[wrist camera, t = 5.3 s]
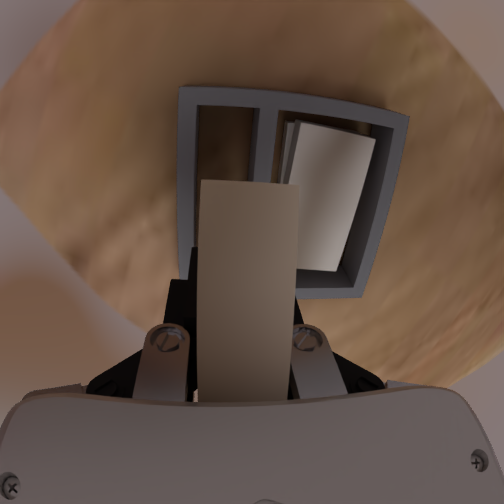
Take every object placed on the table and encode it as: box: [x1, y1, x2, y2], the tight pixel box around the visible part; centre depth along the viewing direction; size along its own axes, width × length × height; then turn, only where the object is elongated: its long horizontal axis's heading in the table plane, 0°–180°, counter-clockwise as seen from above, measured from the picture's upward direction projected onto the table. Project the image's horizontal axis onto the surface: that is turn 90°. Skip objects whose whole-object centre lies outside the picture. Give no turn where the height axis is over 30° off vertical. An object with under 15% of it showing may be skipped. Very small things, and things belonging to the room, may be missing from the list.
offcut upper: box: [283, 119, 376, 271], centre depth 21 cm, size 5×10×2 cm, turn 171°
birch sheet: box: [197, 179, 299, 402], centre depth 12 cm, size 2×7×12 cm
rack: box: [177, 86, 410, 299], centre depth 21 cm, size 14×14×3 cm
